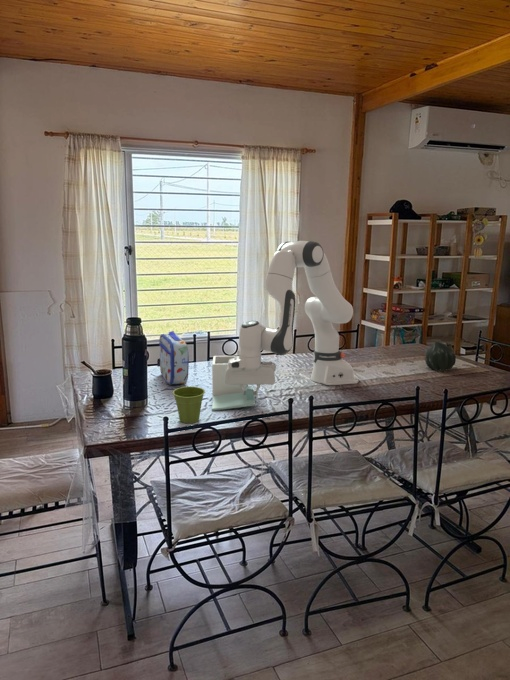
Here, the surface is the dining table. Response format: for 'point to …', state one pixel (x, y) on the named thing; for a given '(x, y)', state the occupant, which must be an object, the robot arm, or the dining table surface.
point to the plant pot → (189, 403)
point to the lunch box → (173, 359)
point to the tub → (222, 377)
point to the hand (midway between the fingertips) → (249, 394)
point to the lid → (234, 400)
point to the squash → (440, 357)
